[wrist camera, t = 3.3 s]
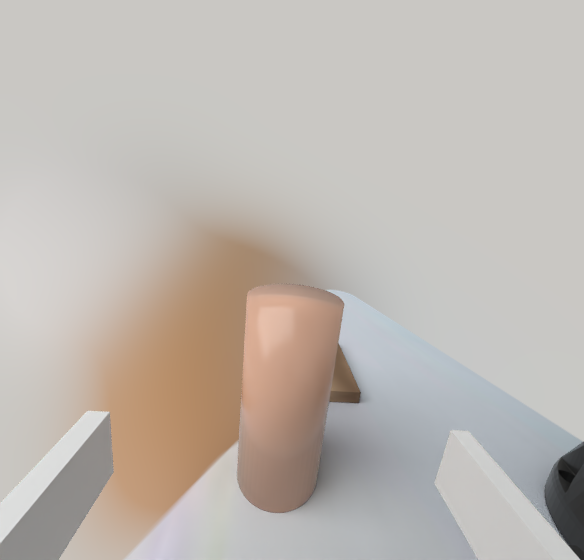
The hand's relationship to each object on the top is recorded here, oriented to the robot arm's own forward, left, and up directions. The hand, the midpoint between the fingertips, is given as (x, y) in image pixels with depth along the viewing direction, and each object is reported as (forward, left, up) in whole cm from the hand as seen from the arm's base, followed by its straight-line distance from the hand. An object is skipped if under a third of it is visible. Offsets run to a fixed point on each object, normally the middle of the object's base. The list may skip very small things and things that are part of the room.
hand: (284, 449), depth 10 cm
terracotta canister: (-1, -10, -13) cm, 17 cm away
